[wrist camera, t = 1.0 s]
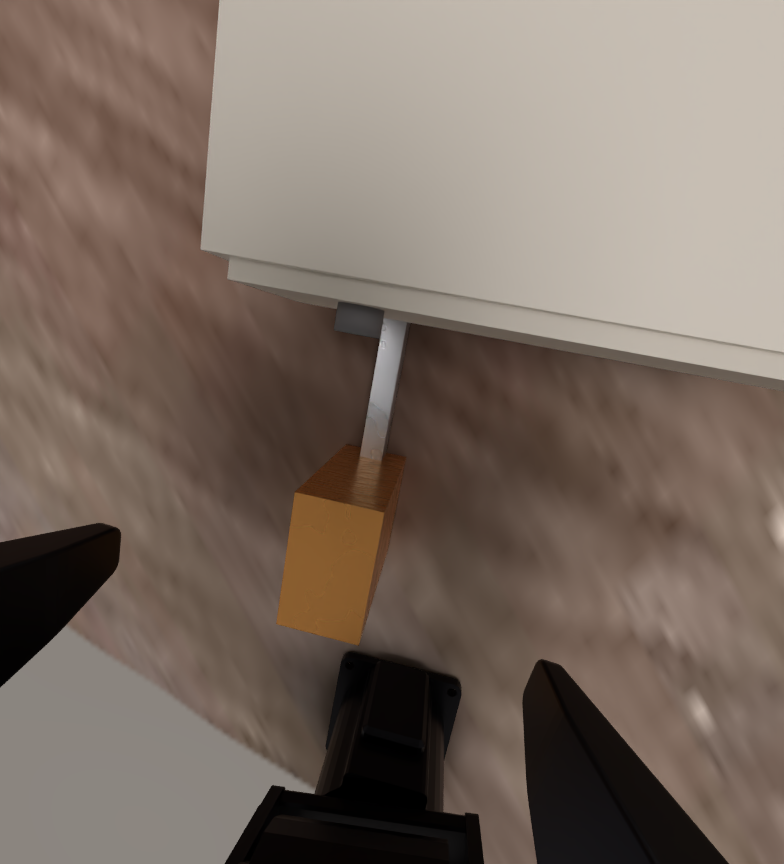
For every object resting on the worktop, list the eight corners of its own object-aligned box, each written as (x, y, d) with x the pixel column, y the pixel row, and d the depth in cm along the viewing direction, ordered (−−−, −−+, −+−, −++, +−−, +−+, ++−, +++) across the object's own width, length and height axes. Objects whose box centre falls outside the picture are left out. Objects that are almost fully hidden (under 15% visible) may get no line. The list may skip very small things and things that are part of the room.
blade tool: (387, 549, 21) (358, 645, 14) (331, 536, 21) (276, 624, 14) (475, 107, 17) (495, -61, 10) (403, 98, 17) (373, -72, 10)
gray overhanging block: (702, 399, 18) (1013, 458, 8) (323, 327, 19) (196, 304, 9) (795, 134, 16) (1381, -228, 6) (358, 77, 17) (241, -287, 7)
